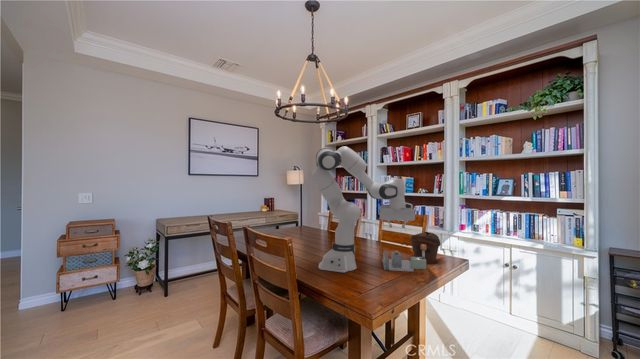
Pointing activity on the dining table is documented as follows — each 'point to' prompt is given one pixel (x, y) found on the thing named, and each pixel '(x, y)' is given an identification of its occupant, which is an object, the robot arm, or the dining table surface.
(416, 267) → the ram guide
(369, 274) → the dining table surface
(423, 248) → the ram
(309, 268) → the dining table surface
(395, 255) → the block
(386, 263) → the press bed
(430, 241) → the case
